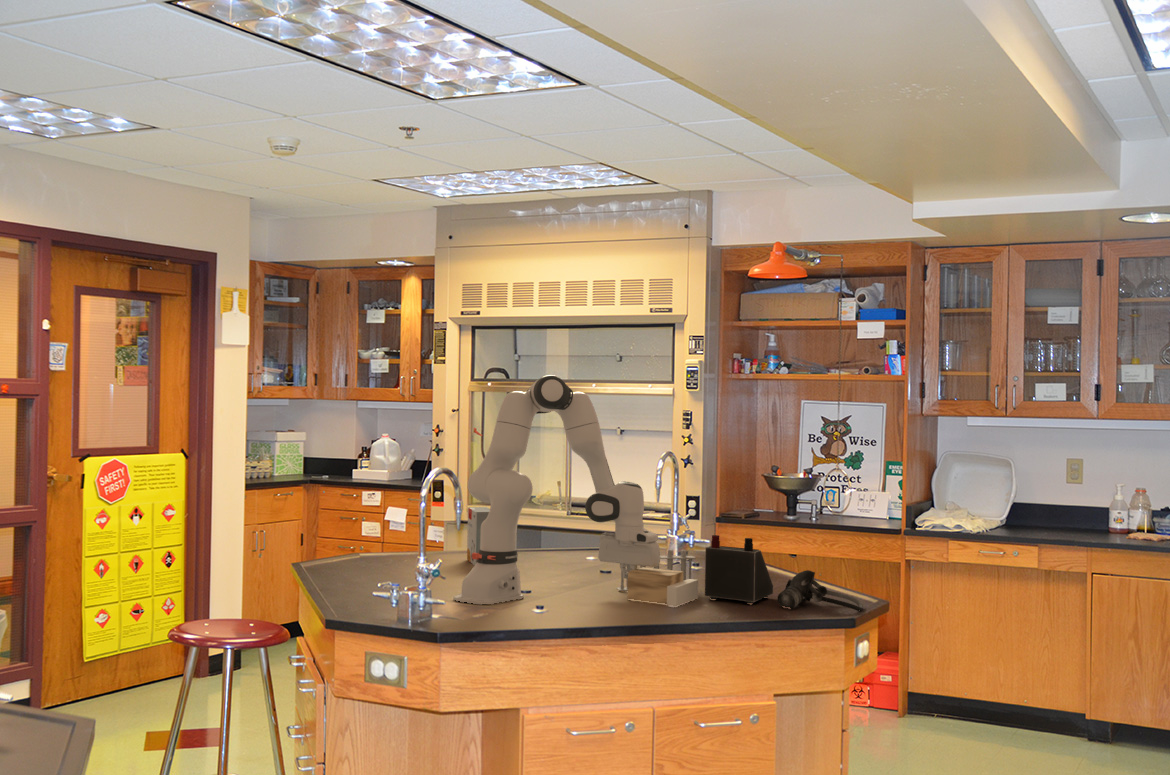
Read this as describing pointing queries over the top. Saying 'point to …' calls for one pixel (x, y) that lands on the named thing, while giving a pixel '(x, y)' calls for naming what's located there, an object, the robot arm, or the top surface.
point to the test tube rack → (669, 566)
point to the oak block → (651, 584)
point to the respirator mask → (811, 592)
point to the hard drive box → (475, 530)
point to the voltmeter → (736, 572)
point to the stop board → (682, 592)
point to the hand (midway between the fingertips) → (628, 578)
